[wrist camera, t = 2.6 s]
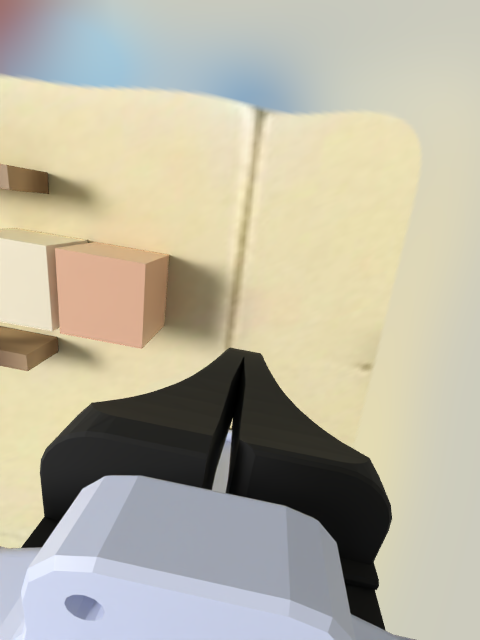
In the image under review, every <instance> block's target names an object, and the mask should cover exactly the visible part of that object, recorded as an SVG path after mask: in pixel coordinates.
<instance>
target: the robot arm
mask: <svg viewBox="0 0 480 640" xmlns="http://www.w3.org/2000/svg"><path fill="white" fill-rule="evenodd" d="M232 418H233V424H232V430H229V428H230V425H231V422H232ZM40 477H41V487H42V496H43V506H44V516H45V517H44V518H43V519H42V521H41V522H40V523H39V525H38V526H37V527H36V529H35V530H34V531H33V533H32V534H31V535H30V537H29V538H28V539H27V541H26V542H25V543H24V545H23V546H22V547H21V548H5V547H1V546H0V640H415V639H410V638H406V637H401V636H397V635H393V634H391V633H389V632H387V631H386V630H385V626H384V623H383V619H382V616H381V612H380V608H379V604H378V601H377V597H376V593H375V590H377V588H378V586H379V579H378V576H377V572H376V569H375V566H374V560H375V557H376V555H377V553H378V551H379V549H380V547H381V545H382V543H383V541H384V539H385V537H386V535H387V533H388V531H389V527H390V523H391V520H392V513H391V505H390V502H389V500H388V497H387V495H386V492H385V490H384V487H383V485H382V482H381V481H380V478H379V475H378V474H377V472H376V470H375V468H374V466H373V464H372V462H371V460H370V458H368V457H367V456H365V455H363V454H361V453H360V452H358V451H356V450H354V449H353V448H351V447H349V446H347V445H346V444H344V443H342V442H341V441H339V440H337V439H336V438H335V437H333V436H332V435H330V434H329V433H327V432H326V431H324V430H323V429H322V428H320V427H319V426H318V425H317V424H315V423H314V422H313V421H312V420H311V419H309V418H308V417H307V416H306V415H305V414H304V413H302V412H301V411H300V410H299V409H298V408H297V407H296V406H295V405H294V404H293V402H292V401H291V400H290V399H289V398H288V397H287V396H286V395H285V393H284V392H283V391H282V390H281V388H280V387H279V385H278V384H277V382H276V381H275V379H274V377H273V376H272V374H271V372H270V371H269V369H268V367H267V365H266V363H265V361H264V358H263V356H262V355H261V353H255V352H250V351H245V350H239V349H234V348H229V349H227V350H226V351H225V352H224V353H223V354H222V355H221V356H219V357H218V358H217V359H216V360H214V361H213V362H212V363H211V364H209V365H208V366H207V367H205V368H204V369H202V370H201V371H199V372H198V373H196V374H194V375H193V376H191V377H189V378H187V379H185V380H183V381H181V382H179V383H176V384H174V385H171V386H168V387H166V388H163V389H160V390H157V391H154V392H150V393H147V394H143V395H139V396H134V397H129V398H124V399H118V400H110V401H103V402H95V403H91V404H90V405H89V406H88V407H87V408H86V409H84V410H83V411H82V412H81V413H80V414H79V415H78V416H77V417H76V418H75V419H74V420H73V421H72V422H71V423H70V424H69V425H68V426H67V427H66V428H65V429H64V430H63V431H62V432H61V434H60V435H59V436H58V437H57V438H56V439H55V440H54V441H53V442H52V443H51V444H50V445H49V446H48V447H47V448H46V450H45V452H44V454H43V456H42V459H41V466H40Z"/></svg>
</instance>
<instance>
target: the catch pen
mask: <svg viewBox="0 0 480 640" xmlns="http://www.w3.org/2000/svg"><path fill="white" fill-rule="evenodd" d="M0 188H1V189H7V190H16V191H27V192H37V193H47V194H49V190H48V173H46V172H41V171H35V170H30V169H25V168H19V167H14V166H9V165H3V164H0ZM57 352H58V340H57V337H53V336H48V335H42V334H37V333H32V332H27V331H22V330H16V329H11V328H6V327H1V326H0V366H5V367H10V368H15V369H20V370H25V371H29V370H30V369H32V368H33V367H35V366H37V365H38V364H40V363H41V362H43V361H44V360H46V359H48V358H49V357H51V356H52V355H54V354H55V353H57Z"/></svg>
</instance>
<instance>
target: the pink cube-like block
mask: <svg viewBox="0 0 480 640" xmlns="http://www.w3.org/2000/svg"><path fill="white" fill-rule="evenodd" d="M55 257H56V273H57V290H58V306H59V323H60V333H61V334H67V335H72V336H77V337H83V338H88V339H93V340H99V341H104V342H109V343H115V344H120V345H125V346H131V347H136V348H141V349H142V348H143V347H144V346H145V345H146V344H147V343H148V342H149V341H150V340H151V339H152V338H153V337H154V336H155V335H156V334H157V333H158V332H159V331H160V330H161V329H162V327H163V326H164V323H165V309H166V294H167V280H168V266H169V255H168V254H162V253H156V252H150V251H144V250H139V249H133V248H127V247H121V246H115V245H109V244H104V243H98V242H92V243H86V244H79V245H72V246H66V247H59V248H55Z"/></svg>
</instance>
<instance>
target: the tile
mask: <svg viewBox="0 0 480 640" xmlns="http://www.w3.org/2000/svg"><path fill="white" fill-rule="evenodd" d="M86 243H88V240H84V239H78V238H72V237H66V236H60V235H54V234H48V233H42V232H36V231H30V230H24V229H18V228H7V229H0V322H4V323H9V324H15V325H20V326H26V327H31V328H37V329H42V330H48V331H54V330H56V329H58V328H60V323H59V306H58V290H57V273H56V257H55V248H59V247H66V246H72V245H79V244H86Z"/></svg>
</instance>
